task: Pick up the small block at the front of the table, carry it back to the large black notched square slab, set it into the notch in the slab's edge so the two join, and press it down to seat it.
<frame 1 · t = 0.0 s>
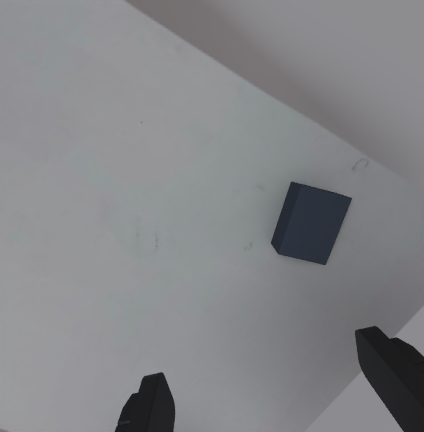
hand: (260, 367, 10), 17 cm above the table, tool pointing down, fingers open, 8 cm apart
small block: (302, 218, 26), on the table
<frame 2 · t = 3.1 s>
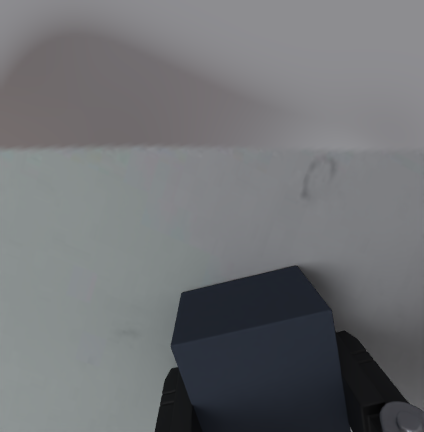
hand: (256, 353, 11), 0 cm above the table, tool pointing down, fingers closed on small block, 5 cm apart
small block: (255, 346, 11), on the table, touching gripper
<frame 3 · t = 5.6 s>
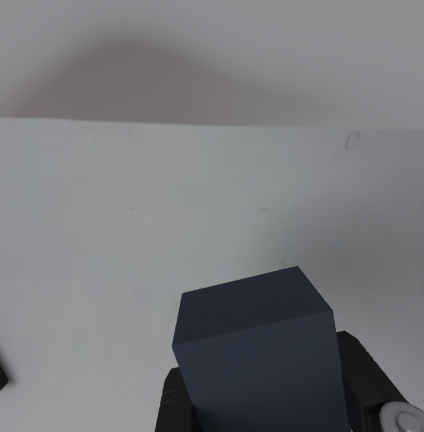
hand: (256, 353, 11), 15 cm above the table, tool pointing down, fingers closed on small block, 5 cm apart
small block: (256, 346, 11), point 15 cm above the table, touching gripper
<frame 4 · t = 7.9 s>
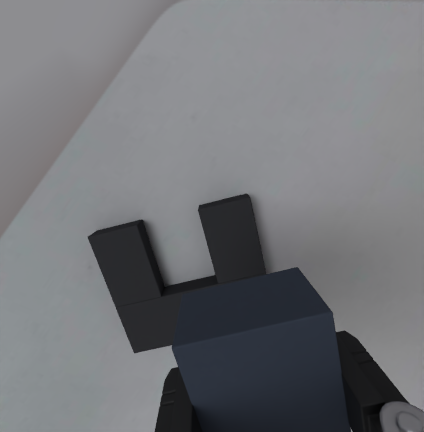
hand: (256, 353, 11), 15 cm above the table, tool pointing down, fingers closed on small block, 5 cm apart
small block: (256, 347, 11), point 15 cm above the table, touching gripper
black notched square slab: (188, 272, 27), on the table
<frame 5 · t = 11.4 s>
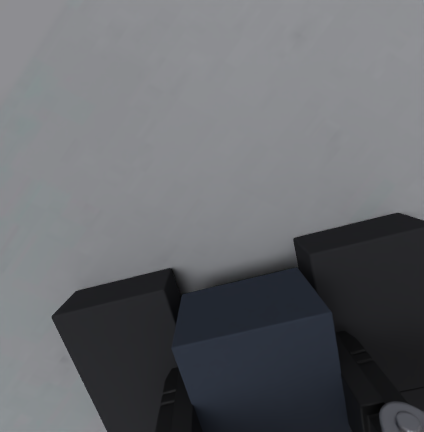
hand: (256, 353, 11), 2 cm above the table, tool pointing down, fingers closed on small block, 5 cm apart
small block: (255, 347, 11), point 2 cm above the table, touching gripper
black notched square slab: (260, 367, 13), on the table
when the fingers open (2 cm above the table, at t = 12.6 s): small block drops 2 cm, resting in black notched square slab.
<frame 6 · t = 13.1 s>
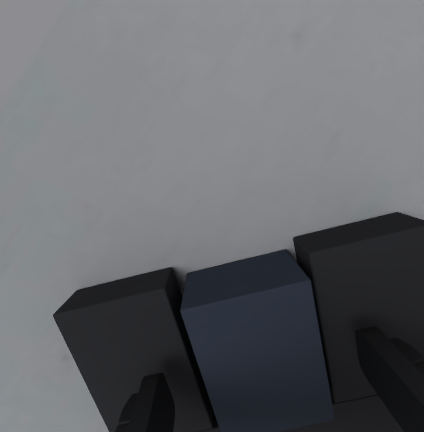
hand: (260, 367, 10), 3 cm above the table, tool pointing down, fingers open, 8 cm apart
small block: (250, 320, 13), resting in black notched square slab
black notched square slab: (260, 365, 14), on the table
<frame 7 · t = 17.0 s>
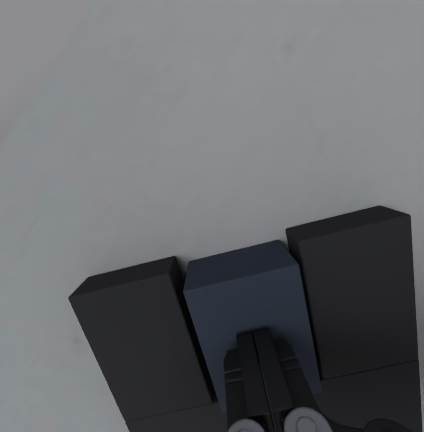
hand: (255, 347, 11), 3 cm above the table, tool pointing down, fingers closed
small block: (247, 305, 14), resting in black notched square slab, touching gripper
black notched square slab: (256, 347, 15), on the table
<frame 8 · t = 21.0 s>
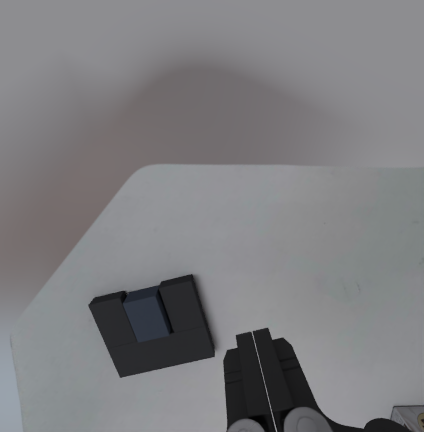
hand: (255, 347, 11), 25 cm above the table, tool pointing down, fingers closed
coffee box: (413, 417, 46), on the table
small block: (151, 307, 39), resting in black notched square slab
black notched square slab: (156, 323, 40), on the table
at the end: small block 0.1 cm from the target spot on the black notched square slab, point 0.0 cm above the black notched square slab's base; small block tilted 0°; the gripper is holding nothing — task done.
